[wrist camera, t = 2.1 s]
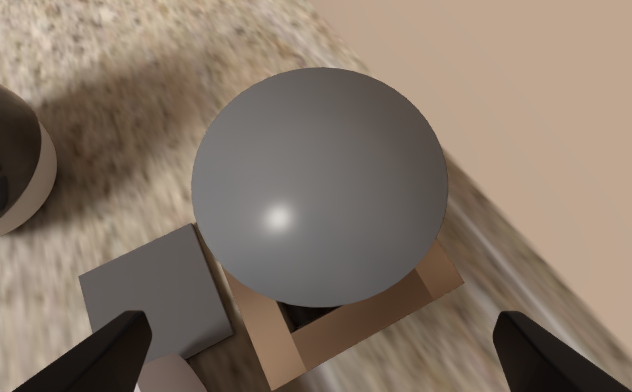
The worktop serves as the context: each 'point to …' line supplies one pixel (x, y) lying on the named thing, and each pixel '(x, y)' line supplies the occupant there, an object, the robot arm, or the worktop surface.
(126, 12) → the worktop surface
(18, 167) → the dark egg-shaped device
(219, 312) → the rubber mat
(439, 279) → the block
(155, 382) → the charger
